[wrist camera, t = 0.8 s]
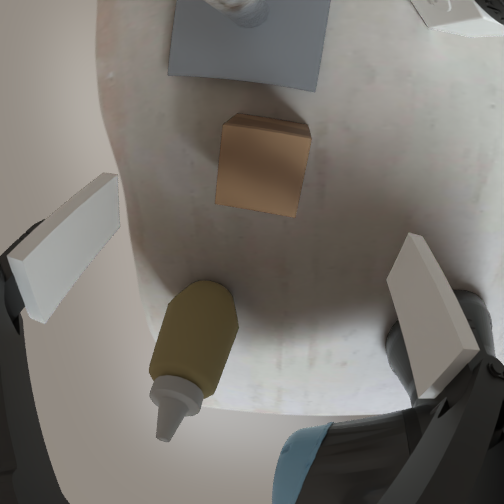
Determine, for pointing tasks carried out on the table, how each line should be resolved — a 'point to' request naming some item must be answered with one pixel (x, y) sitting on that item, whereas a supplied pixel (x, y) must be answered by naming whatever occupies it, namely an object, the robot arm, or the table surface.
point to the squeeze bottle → (191, 352)
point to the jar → (463, 16)
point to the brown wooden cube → (262, 164)
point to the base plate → (251, 44)
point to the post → (242, 11)
